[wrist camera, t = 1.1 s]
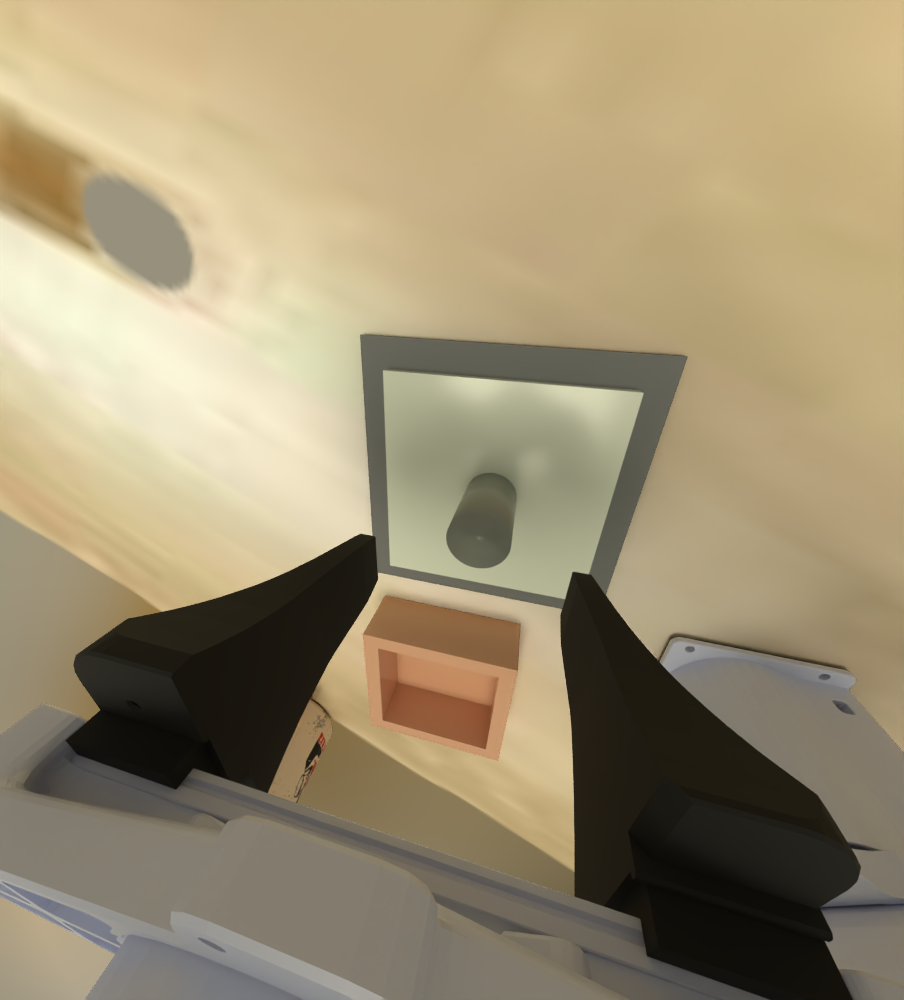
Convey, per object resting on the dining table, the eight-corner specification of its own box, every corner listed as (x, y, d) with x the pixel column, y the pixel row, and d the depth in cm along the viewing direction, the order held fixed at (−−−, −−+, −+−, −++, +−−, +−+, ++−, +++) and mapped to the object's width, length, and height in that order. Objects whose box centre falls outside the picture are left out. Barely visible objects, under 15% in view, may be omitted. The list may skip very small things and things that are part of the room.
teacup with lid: (319, 750, 38) (239, 902, 28) (250, 708, 37) (142, 848, 27) (360, 707, 32) (279, 879, 22) (280, 657, 32) (158, 810, 21)
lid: (638, 390, 15) (684, 414, 10) (578, 593, 21) (591, 668, 16) (389, 368, 17) (334, 381, 13) (394, 558, 23) (357, 615, 18)
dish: (520, 620, 24) (517, 670, 20) (502, 707, 28) (498, 760, 24) (387, 592, 25) (363, 634, 22) (390, 678, 30) (371, 724, 26)
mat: (684, 356, 14) (687, 356, 14) (597, 611, 21) (598, 616, 21) (363, 334, 17) (360, 334, 17) (377, 568, 24) (374, 571, 24)
